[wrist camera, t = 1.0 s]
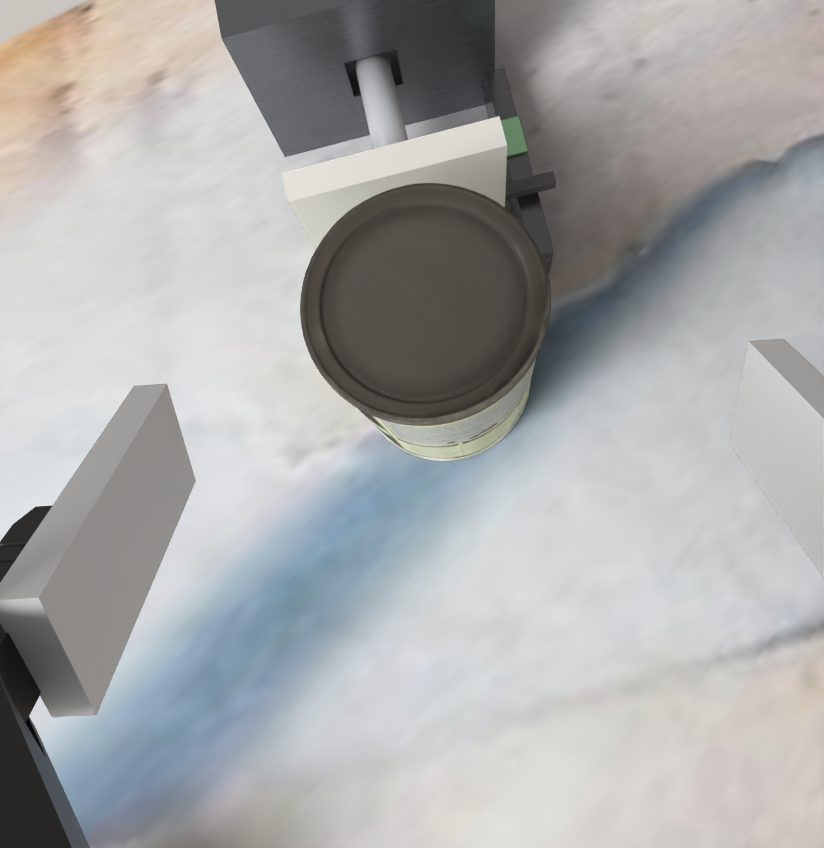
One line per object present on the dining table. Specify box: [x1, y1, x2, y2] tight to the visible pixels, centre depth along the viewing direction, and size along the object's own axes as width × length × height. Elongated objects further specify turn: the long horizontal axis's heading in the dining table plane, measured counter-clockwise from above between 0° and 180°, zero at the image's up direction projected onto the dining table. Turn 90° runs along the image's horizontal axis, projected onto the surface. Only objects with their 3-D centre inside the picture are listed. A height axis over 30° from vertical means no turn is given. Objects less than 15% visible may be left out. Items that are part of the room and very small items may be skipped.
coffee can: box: [300, 183, 551, 461], centre depth 36 cm, size 10×10×14 cm
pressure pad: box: [282, 52, 556, 249], centre depth 40 cm, size 11×14×9 cm
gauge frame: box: [215, 0, 553, 272], centre depth 40 cm, size 17×15×11 cm
